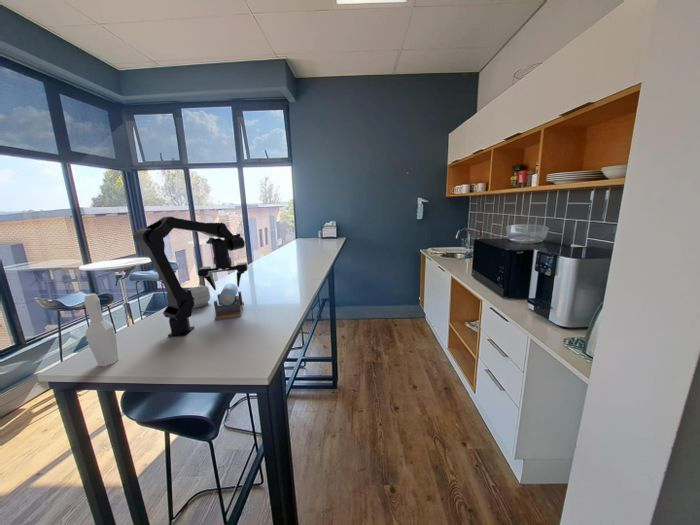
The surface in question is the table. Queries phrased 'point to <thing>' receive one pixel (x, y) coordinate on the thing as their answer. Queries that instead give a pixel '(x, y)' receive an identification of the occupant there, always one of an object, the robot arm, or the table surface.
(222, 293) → the roll
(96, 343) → the low poly bottle
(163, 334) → the table surface
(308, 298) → the table surface
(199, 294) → the teacup
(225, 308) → the holder
